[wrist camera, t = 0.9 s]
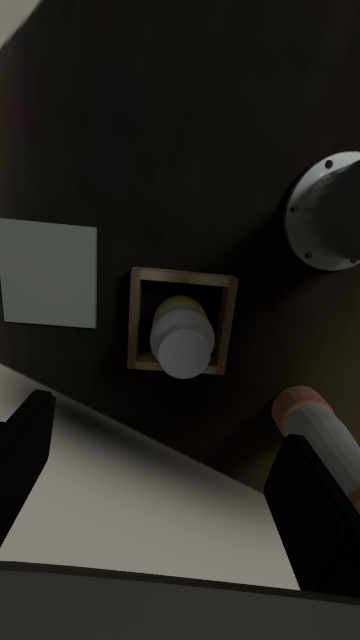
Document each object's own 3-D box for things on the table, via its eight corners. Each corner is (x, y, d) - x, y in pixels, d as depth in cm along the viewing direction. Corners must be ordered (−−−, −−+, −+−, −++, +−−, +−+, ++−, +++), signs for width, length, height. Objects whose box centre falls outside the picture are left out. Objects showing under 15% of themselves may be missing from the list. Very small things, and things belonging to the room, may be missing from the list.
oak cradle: (232, 275, 33) (238, 278, 30) (219, 364, 37) (223, 374, 34) (134, 266, 33) (131, 269, 30) (130, 357, 36) (127, 368, 33)
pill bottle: (179, 351, 36) (184, 401, 25) (143, 318, 34) (130, 356, 23) (215, 317, 35) (236, 354, 24) (179, 282, 33) (184, 304, 22)
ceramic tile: (96, 227, 31) (95, 227, 31) (96, 326, 35) (95, 328, 34) (-2, 218, 31) (-6, 217, 30) (7, 319, 34) (4, 321, 33)
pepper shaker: (266, 427, 40) (348, 588, 22) (276, 383, 38) (376, 520, 19) (314, 430, 40) (435, 590, 22) (326, 387, 38) (470, 524, 20)
